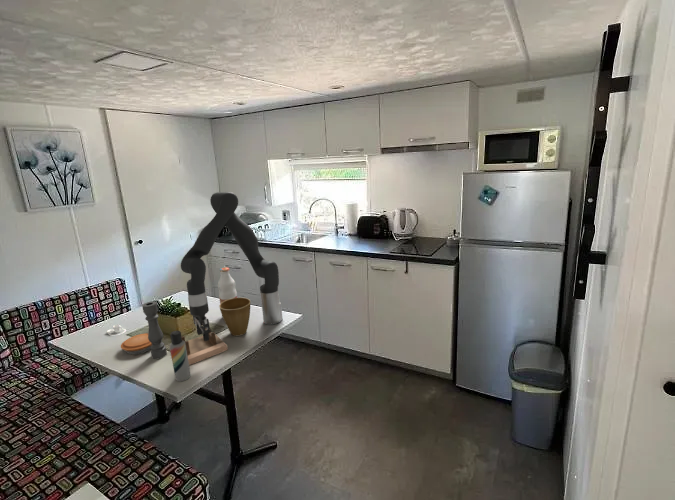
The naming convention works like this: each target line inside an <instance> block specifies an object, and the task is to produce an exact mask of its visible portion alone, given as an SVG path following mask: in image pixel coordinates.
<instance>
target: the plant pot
mask: <svg viewBox="0 0 675 500" xmlns="http://www.w3.org/2000/svg"><path fill="white" fill-rule="evenodd" d="M218 308H219V311H220V313H221V317H222V316H223V318H222V319H223V321H224V324H225V325H226V327H227V329H228V331H229V332H230V334H231V335H232V336H234V337H238V336H240V337H241V336H243V335H245V334H246V333H247V332H248V328H249V321H250V316H251V299H249V298H247V297H237V298H232V299H228V300H226V301H224V302H222V303H221V304H220V303H219V306H218Z"/></svg>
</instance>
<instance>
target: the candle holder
mask: <svg viewBox="0 0 675 500" xmlns="http://www.w3.org/2000/svg"><path fill="white" fill-rule="evenodd" d="M141 306H142V311H143V313H144V315H145V316H146V317H145V320H146V321H147V324H148V325H147V326H148V331H147V333H148V339H149V341H150V342H151V344H152V345H151V349H150V355H151V358H152V359H154V360H159V359H163V358H164V357H166V356H167V355H168V353H167V347H166V345H165V343H164V342H163V338H164V333H163V331H162V329H161V327H160V325H159V321H158V318H159V317H160V316H159V314H157V313H158V310H159V309H158V303H157V302H156V301H147V302H144V303H143V304H142V305H141Z"/></svg>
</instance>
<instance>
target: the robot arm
mask: <svg viewBox="0 0 675 500" xmlns="http://www.w3.org/2000/svg"><path fill="white" fill-rule="evenodd" d="M209 201H210V205H211V208H212V209H213V211H214V213H215V215H214V216H213V218H212V219H211V220H210V221H209V223H207V224H206V225H205V226H204V227H203V228H202V230H200V232H199V234H198V236H197V237H196V240H194V244H193V246H192V247H190V249H188V251H187V252H186V253H185V255H184V256H183V257H182V259H181V262H180V269H181V270H182V271H181V272H183V273H185V274H190V279H188V280H187V281H186V288H187V289H186V291H187V296H188V297H187V299H188V300H187V301H188V306H189V307H188V308H189V313H190V315H191V316H192V319H193V324H194V325H195V328H196V335H200V336H201V335H202V336H203V339H204V341H208V340H209V333H208V332H210V329H211V327H210V322H209V318H207V316H206V315H207V314H208V313H209V311H210V308H209V302H208V296H207V293H206V284H205V280H206V274H207V273H206V272H207V266H206V263H205V261H204V260H203V259H202V258H203V257H204V256H207V255H209V254H210V252H211V250H212V248H213V246H214V244H215V242H216V239H217V238H218V236H219V235H220V234H221V231H222V230H223V228H224V227H225V226H226V228H227V229H228V230H229V232H230V234H231V235H232V237H233V239H234V240H235V241H236V244H238V246H239V248H240V249H241V251H242V252H243V253H244V255H245V257H246V258H247V260H248V262H249V264H250V266H251V268H252V269H253V272H254V273H255V275H256V276H258V277H259V278H262V279H264V283H263V284H261V285H260V287H259V295H260V300H261V310H262V319H263V323H264V324H265V325H269V326H270V325H276V324H279V323H281V322H282V321H283V310H282V303H281V302H280V295H279V284H280V277H279V275H280V274H279V273H280V272H279V267H278V265H277V263H276V262H274V261H269V260H266V259H265V258H264V257H263V256H262V254H261V253H260V250H259V240H258V237H257V236H256V233H255V232H254V231H253V229H252V228H251V226H250V225H248V224H247V223H246V222H245V221H243V220H242V219H241V218H240V217H239V216H238V215H237V214H236V210H237V208H238V205H239V199H238V196H237V195H236V194H235V193H234V192H232V191H223V192H222V191H218V192H214V193H213V194H211V196H210V200H209ZM205 328H206V329H207V330H205Z"/></svg>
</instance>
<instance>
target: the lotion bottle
mask: <svg viewBox="0 0 675 500" xmlns="http://www.w3.org/2000/svg"><path fill="white" fill-rule="evenodd" d="M181 336H182V333H181V331H180V330H173V331H171V332H170V341H171V343H170V344H169V351H170V357H171V361H172V366H173V367H172V368H173V372H174V378H175V380H176V381H177V382H185V381H186V380H189V379H190V377H191V375H192V374H191V368H190V365H189V362H188V356H187V350H186V345H185V341H186V340H185V341H183V340H182V337H183V336H182V337H181Z"/></svg>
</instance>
